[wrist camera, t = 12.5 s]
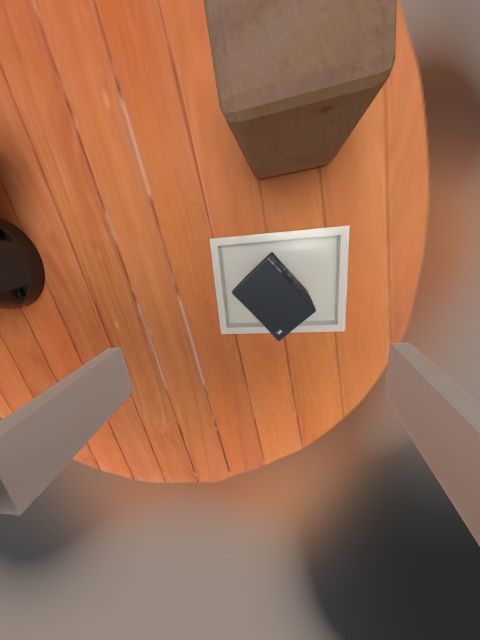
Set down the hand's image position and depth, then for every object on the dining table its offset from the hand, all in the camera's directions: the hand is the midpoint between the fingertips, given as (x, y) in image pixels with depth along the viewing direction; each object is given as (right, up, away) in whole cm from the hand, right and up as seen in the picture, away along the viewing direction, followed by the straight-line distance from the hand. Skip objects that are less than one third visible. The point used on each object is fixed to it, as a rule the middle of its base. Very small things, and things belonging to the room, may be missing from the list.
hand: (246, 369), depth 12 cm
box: (+5, +8, +25) cm, 26 cm away
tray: (+5, +8, +25) cm, 27 cm away
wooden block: (+6, +26, +19) cm, 33 cm away
